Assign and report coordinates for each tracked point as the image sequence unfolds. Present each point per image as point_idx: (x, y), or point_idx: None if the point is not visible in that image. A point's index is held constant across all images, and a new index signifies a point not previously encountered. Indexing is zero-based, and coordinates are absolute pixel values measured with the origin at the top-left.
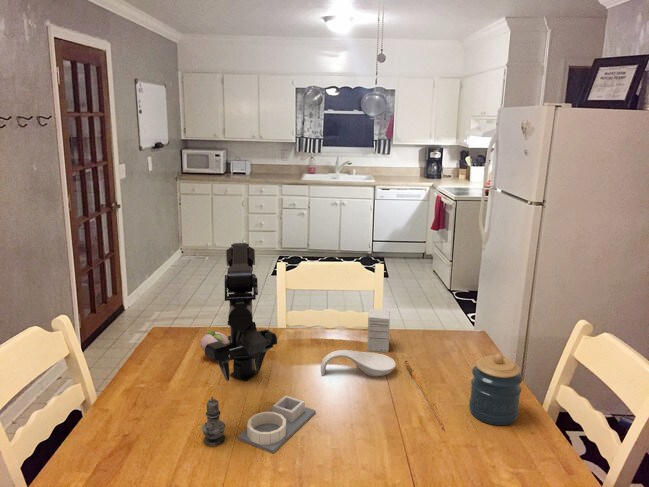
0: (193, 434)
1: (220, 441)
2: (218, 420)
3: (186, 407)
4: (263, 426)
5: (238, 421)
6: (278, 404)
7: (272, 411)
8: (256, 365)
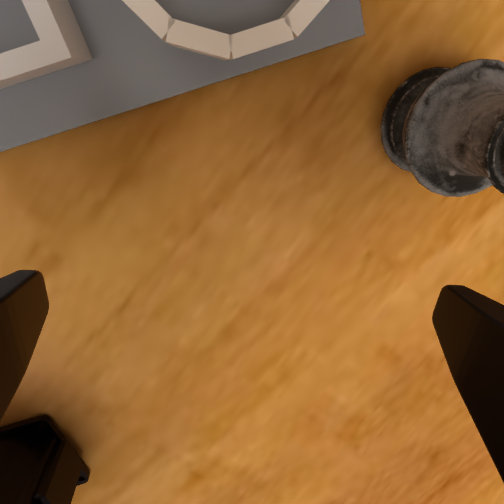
0: (456, 219)
1: (435, 75)
2: (499, 103)
3: (351, 386)
4: (199, 5)
5: (259, 170)
6: (20, 48)
7: (69, 101)
8: (18, 344)
